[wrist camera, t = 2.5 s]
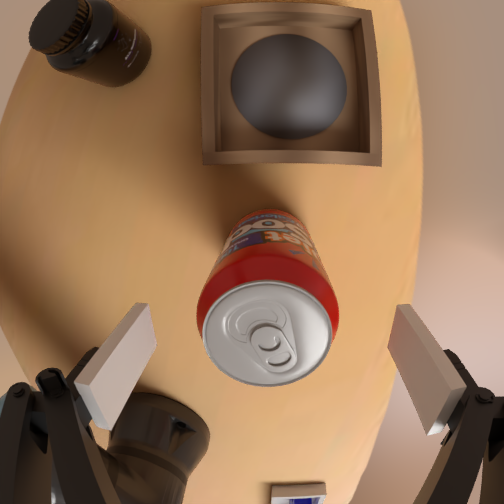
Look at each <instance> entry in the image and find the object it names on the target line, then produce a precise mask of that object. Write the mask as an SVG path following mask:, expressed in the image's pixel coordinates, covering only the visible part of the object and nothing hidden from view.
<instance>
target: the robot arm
mask: <svg viewBox="0 0 504 504" xmlns="http://www.w3.org/2000/svg"><path fill="white" fill-rule="evenodd" d="M156 346H157V342H156V338H155V333H154V329H153V324H152V319H151V314H150V309H149V304H147V303H135V305H134V306H133V307H132V308H131V309H130V311H129V312H128V313H127V314H126V315H125V317H124V318H123V319H122V320H121V322H120V323H119V324H118V325H117V327H116V328H115V329H114V330H113V332H112V333H111V334H110V335H109V337H108V338H107V339H106V340H105V342H104V343H103V344H102V345H101V347H100V348H98V347H94V348H92V349H91V350H89V351H88V352H86V354H85V355H84V356H83V357H82V359H81V360H80V361H79V362H78V364H77V366H75V367H74V369H73V370H72V371H71V372H70V374H69V375H68V376H67V378H66V379H65V378H64V376H63V374H62V372H61V370H59V369H58V368H47V369H45V370H43V371H41V372H40V373H39V374H38V375H37V376H36V380H35V382H36V384H37V385H38V387H39V389H40V391H41V392H40V391H37V390H36V389H35V388H33V387H32V386H30V385H28V384H27V383H25V382H20V383H16V384H14V385H12V386H11V387H10V388H9V390H8V392H7V393H5V394H4V395H3V396H2V397H1V398H0V504H182V502H183V498H184V493H185V488H186V484H187V481H188V478H189V476H190V475H191V473H192V472H193V470H194V469H195V468H196V466H197V465H198V464H199V462H200V461H201V459H202V458H203V457H204V455H205V454H206V452H207V449H208V445H209V440H210V432H209V429H208V427H207V425H206V424H205V423H204V421H203V420H202V419H201V418H200V417H199V416H198V415H197V414H195V413H194V412H193V411H191V410H190V409H188V408H187V407H185V406H183V405H182V404H180V403H178V402H175V401H173V400H171V399H168V398H165V397H162V396H158V395H154V394H149V393H131V392H132V390H133V388H134V387H135V385H136V383H137V381H138V379H139V377H140V375H141V374H142V372H143V370H144V368H145V366H146V365H147V363H148V361H149V359H150V357H151V355H152V354H153V352H154V350H155V348H156ZM388 349H389V351H390V353H391V355H392V358H393V360H394V362H395V364H396V366H397V368H398V370H399V372H400V375H401V377H402V379H403V381H404V383H405V386H406V388H407V390H408V392H409V394H410V397H411V399H412V401H413V404H414V406H415V408H416V411H417V413H418V415H419V417H420V420H421V422H422V425H423V427H424V430H425V432H426V435H431V434H435V433H439V432H442V430H443V429H444V427H445V425H446V424H448V426H449V428H450V430H449V432H448V433H447V435H446V436H445V438H444V439H443V441H442V442H441V445H442V447H441V449H440V452H439V454H438V456H437V458H436V460H435V463H434V465H433V467H432V469H431V471H430V473H429V475H428V477H427V479H426V481H425V483H424V485H423V487H422V488H421V490H420V492H419V494H418V496H417V497H416V499H415V501H414V503H413V504H467V502H468V499H469V497H470V494H471V492H472V489H473V486H474V483H475V481H476V478H477V475H478V472H479V469H480V465H481V463H482V459H483V472H482V484H481V494H480V502H479V504H504V397H495V395H494V394H493V393H492V392H491V391H490V390H488V389H486V388H483V387H478V386H477V384H476V383H475V381H474V380H473V378H472V377H471V375H470V374H469V372H468V371H467V369H465V366H464V365H463V364H462V363H461V361H460V359H459V358H458V356H457V355H456V354H455V353H453V352H452V351H450V350H449V349H447V350H442V348H441V347H440V345H439V344H438V343H437V341H436V340H435V338H434V337H433V335H432V334H431V333H430V331H429V330H428V329H427V327H426V326H425V324H424V323H423V321H422V320H421V319H420V317H419V316H418V315H417V313H416V312H415V311H414V309H413V308H412V307H411V305H410V304H402V305H397V307H396V312H395V317H394V321H393V326H392V330H391V334H390V339H389V343H388ZM91 419H93V421H94V423H95V424H96V426H97V427H100V428H103V429H107V430H109V443H108V448H107V450H104V449H103V448H102V447H100V446H99V445H98V444H97V443H96V441H95V439H94V436H93V433H92V430H91V427H90V426H89V423H90V421H91Z"/></svg>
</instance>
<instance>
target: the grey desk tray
mask: <svg viewBox="0 0 504 504" xmlns="http://www.w3.org/2000/svg"><path fill="white" fill-rule="evenodd" d="M326 495H327V494H326V484H325V483H322V484H307V485H272V495H271V504H289V500H290V499H298V498H312V504H323V502H324V499H325V497H326Z"/></svg>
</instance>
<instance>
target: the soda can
mask: <svg viewBox="0 0 504 504" xmlns="http://www.w3.org/2000/svg"><path fill="white" fill-rule="evenodd" d="M338 324H339V307H338V302H337V298H336V295H335V292H334V290H333V287H332V285H331V283H330V280H329V278H328V275H327V273H326V271H325V268H324V266H323V264H322V262H321V259H320V257H319V255H318V252H317V250H316V248H315V246H314V243H313V241H312V239H311V237H310V234H309V233H308V231H307V229H306V228H305V226H304V225H303V224H302V223H301V222H300V221H299V220H298V219H297V218H296V217H294V216H293V215H291V214H289V213H287V212H284V211H281V210H277V209H262V210H258V211H255V212H252V213H250V214H248V215H246V216H245V217H243V218H242V219H241V220H240V221H239V222H238V223H237V224H236V225H235V226H234V228H233V229H232V231H231V232H230V234H229V236H228V238H227V240H226V242H225V244H224V246H223V248H222V250H221V252H220V254H219V256H218V258H217V261H216V263H215V265H214V267H213V269H212V271H211V273H210V275H209V277H208V279H207V281H206V283H205V285H204V287H203V290H202V292H201V294H200V297H199V300H198V305H197V326H198V330H199V333H200V336H201V338H202V340H203V343H204V347H205V350H206V352H207V354H208V356H209V358H210V359H211V361H212V362H213V363H214V364H215V365H216V366H217V367H218V368H219V369H220V370H221V371H222V372H223V373H225V374H226V375H228V376H229V377H231V378H233V379H235V380H237V381H239V382H242V383H245V384H249V385H253V386H261V387H275V386H282V385H286V384H290V383H293V382H296V381H298V380H300V379H302V378H304V377H306V376H307V375H309V374H310V373H312V372H313V371H314V370H315V369H316V368H317V367H318V366H319V365H320V364H321V363H322V362H323V360H324V359H325V357H326V355H327V354H328V351H329V349H330V346H331V343H332V342H333V340H334V338H335V335H336V332H337V329H338Z"/></svg>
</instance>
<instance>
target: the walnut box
mask: <svg viewBox="0 0 504 504" xmlns="http://www.w3.org/2000/svg"><path fill="white" fill-rule="evenodd" d="M201 119H202V152H203V165H218V164H247V163H317V164H345V165H364V166H379V167H382V125H381V98H380V82H379V69H378V58H377V49H376V40H375V33H374V25H373V19H372V12H371V10H365V9H359V8H352V7H345V6H336V5H326V4H314V3H294V2H257V3H237V4H225V5H215V6H206V7H202V12H201Z"/></svg>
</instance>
